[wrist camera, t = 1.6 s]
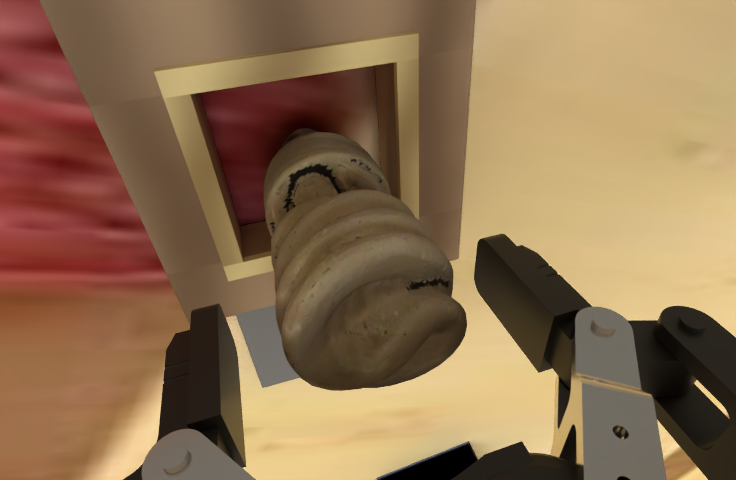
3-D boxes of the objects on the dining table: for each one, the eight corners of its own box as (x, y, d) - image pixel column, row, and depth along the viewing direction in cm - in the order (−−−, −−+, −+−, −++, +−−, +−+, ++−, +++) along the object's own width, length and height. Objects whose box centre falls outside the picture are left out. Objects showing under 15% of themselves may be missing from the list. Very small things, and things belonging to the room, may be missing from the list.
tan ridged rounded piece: (224, 149, 22) (237, 403, 10) (293, 64, 21) (400, 242, 9) (308, 206, 25) (391, 448, 13) (372, 136, 24) (528, 336, 12)
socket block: (447, -56, 20) (484, -53, 17) (438, 232, 29) (461, 262, 26) (61, -15, 17) (32, -4, 14) (192, 290, 26) (190, 331, 24)
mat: (381, 245, 28) (384, 251, 28) (388, 345, 34) (391, 351, 34) (226, 282, 27) (226, 288, 26) (261, 381, 32) (262, 388, 32)
